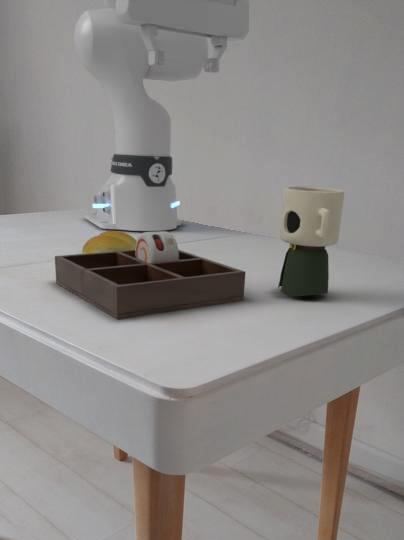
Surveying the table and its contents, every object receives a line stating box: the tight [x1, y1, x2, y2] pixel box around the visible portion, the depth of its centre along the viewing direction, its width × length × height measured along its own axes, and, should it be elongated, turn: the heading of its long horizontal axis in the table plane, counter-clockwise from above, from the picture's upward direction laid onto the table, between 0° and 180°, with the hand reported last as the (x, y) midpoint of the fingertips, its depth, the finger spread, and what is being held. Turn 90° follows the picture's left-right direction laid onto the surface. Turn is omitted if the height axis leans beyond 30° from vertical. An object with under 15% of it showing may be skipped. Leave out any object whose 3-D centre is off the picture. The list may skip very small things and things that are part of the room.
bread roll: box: [81, 230, 137, 254], centre depth 87 cm, size 8×9×4 cm
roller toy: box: [135, 230, 179, 263], centre depth 74 cm, size 4×6×6 cm
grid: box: [54, 249, 247, 320], centre depth 70 cm, size 17×17×4 cm
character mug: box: [277, 186, 345, 299], centre depth 70 cm, size 11×7×13 cm, turn 9°
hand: (184, 69), depth 80 cm, fingers open, 8 cm apart
